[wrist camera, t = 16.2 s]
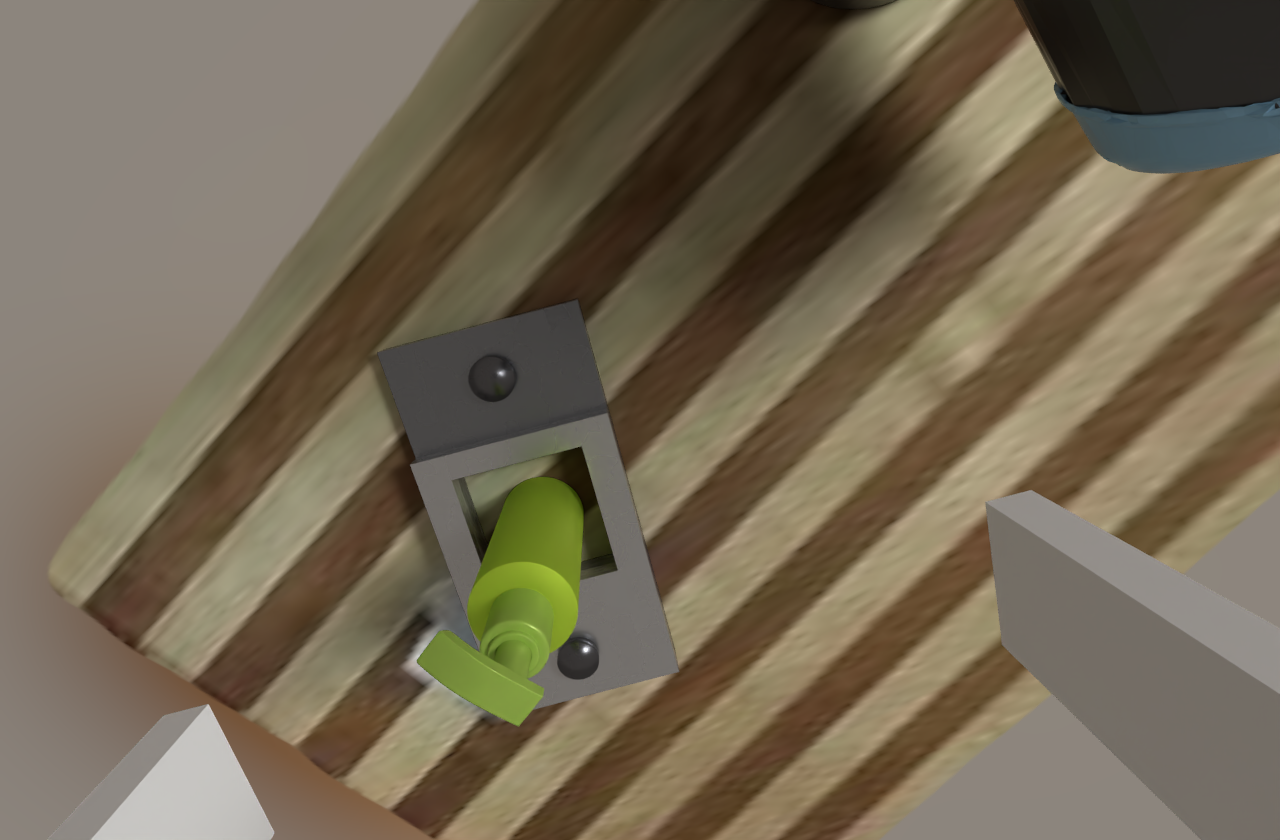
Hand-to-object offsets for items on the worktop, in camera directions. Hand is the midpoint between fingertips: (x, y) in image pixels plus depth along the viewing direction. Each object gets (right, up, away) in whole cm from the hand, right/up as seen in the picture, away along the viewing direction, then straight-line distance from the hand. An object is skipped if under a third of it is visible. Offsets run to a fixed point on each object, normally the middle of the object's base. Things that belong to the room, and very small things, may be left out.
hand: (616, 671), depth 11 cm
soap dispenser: (-7, -2, +36) cm, 37 cm away
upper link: (-6, -6, +37) cm, 38 cm away
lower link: (-8, +1, +35) cm, 36 cm away
